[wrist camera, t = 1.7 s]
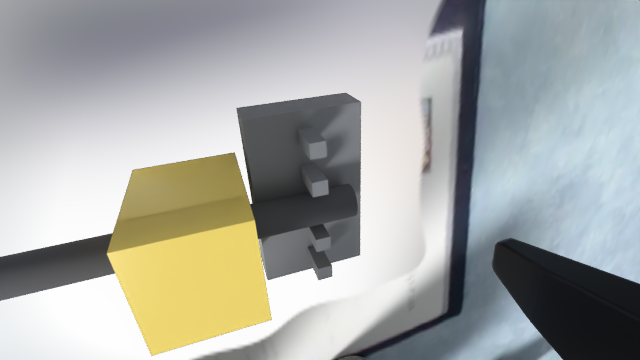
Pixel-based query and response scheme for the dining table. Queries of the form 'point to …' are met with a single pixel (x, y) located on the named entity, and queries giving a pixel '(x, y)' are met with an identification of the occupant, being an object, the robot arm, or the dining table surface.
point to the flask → (352, 358)
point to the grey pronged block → (304, 174)
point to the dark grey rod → (91, 254)
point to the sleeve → (189, 252)
